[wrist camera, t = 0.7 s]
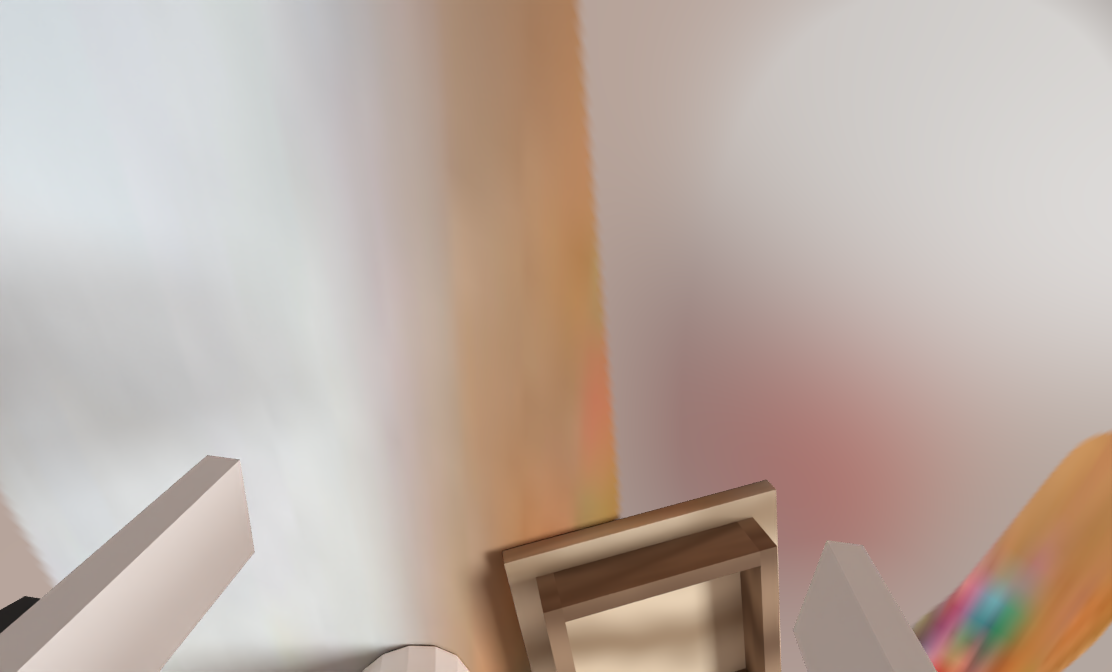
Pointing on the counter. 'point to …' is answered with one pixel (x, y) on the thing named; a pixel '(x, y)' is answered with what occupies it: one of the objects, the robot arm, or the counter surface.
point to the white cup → (417, 661)
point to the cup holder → (656, 590)
